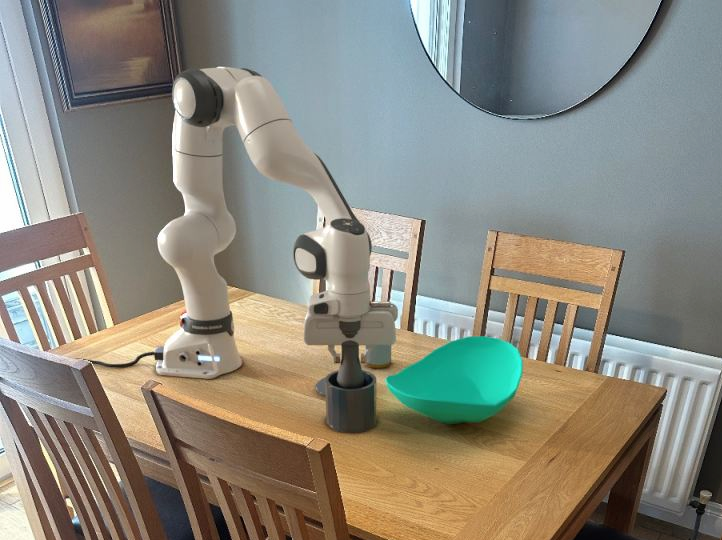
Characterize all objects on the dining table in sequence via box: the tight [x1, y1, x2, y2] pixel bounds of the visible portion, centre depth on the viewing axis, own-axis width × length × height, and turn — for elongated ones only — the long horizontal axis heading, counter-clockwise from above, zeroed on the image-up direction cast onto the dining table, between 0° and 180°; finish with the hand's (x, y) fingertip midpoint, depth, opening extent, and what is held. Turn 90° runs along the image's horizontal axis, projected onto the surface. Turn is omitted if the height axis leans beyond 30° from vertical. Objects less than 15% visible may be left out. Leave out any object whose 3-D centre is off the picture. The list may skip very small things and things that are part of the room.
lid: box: [315, 369, 339, 397], centre depth 184 cm, size 13×13×5 cm
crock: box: [324, 369, 377, 434], centre depth 168 cm, size 12×12×11 cm
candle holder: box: [337, 320, 364, 389], centre depth 164 cm, size 6×6×25 cm
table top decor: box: [384, 335, 524, 425], centre depth 170 cm, size 40×28×13 cm
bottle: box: [364, 345, 392, 369], centre depth 194 cm, size 7×7×15 cm
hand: (350, 362), depth 163 cm, fingers closed on candle holder, 5 cm apart
